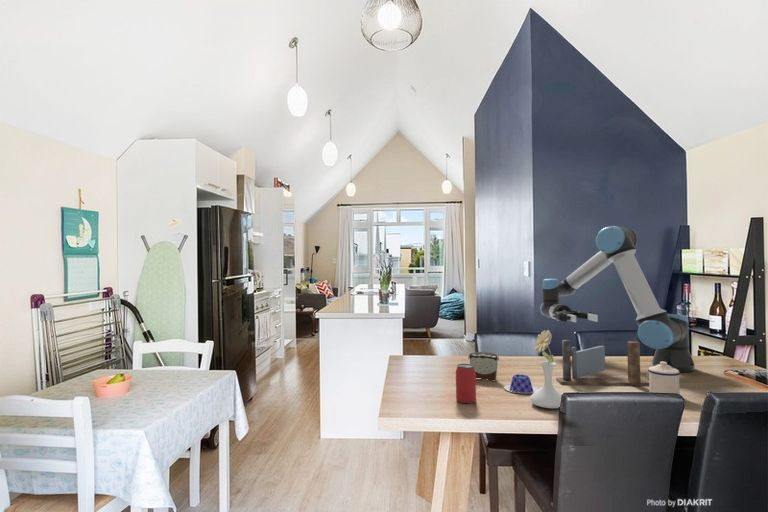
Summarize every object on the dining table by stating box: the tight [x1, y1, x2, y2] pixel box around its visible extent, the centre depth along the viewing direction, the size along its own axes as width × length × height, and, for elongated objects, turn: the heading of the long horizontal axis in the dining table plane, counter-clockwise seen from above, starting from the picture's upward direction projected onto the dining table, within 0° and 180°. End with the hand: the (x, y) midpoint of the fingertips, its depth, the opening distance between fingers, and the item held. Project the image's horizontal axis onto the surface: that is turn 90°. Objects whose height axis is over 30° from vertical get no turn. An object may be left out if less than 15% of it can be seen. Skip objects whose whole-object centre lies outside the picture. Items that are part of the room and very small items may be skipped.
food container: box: [467, 351, 500, 382], centre depth 171 cm, size 12×6×10 cm, turn 65°
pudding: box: [503, 373, 540, 395], centre depth 155 cm, size 12×12×5 cm
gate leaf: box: [571, 345, 606, 379], centre depth 168 cm, size 21×2×12 cm, turn 124°
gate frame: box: [555, 339, 649, 387], centre depth 161 cm, size 32×7×16 cm, turn 84°
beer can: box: [455, 363, 477, 405], centre depth 144 cm, size 7×7×12 cm
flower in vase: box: [529, 329, 563, 409], centre depth 137 cm, size 13×11×25 cm
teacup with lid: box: [646, 362, 681, 395], centre depth 146 cm, size 12×9×12 cm
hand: (586, 318), depth 179 cm, fingers open, 9 cm apart
